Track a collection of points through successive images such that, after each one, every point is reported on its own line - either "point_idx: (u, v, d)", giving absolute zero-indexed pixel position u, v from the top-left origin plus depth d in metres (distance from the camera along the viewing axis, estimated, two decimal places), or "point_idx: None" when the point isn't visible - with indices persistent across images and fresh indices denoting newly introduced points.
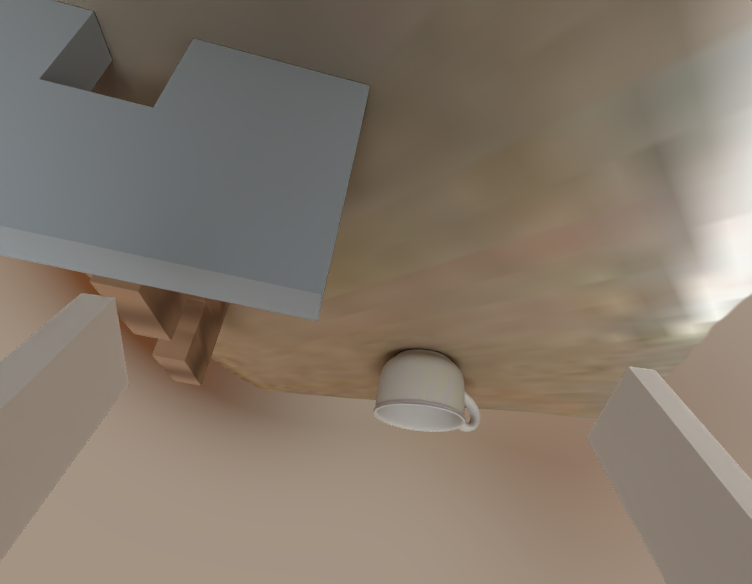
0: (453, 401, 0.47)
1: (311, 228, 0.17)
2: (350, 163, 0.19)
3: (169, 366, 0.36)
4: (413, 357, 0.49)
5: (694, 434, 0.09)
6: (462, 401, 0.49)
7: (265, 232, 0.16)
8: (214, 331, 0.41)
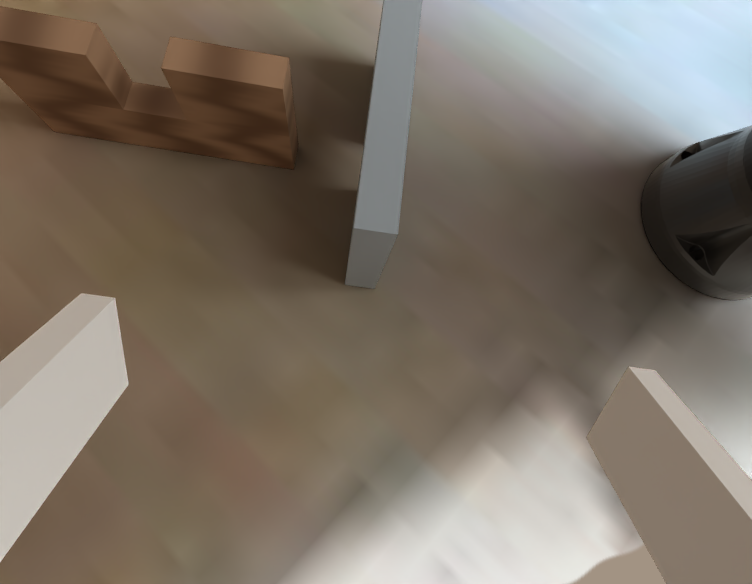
0: None
1: None
2: None
3: (50, 25, 0.27)
4: None
5: (694, 434, 0.09)
6: None
7: None
8: (39, 93, 0.31)
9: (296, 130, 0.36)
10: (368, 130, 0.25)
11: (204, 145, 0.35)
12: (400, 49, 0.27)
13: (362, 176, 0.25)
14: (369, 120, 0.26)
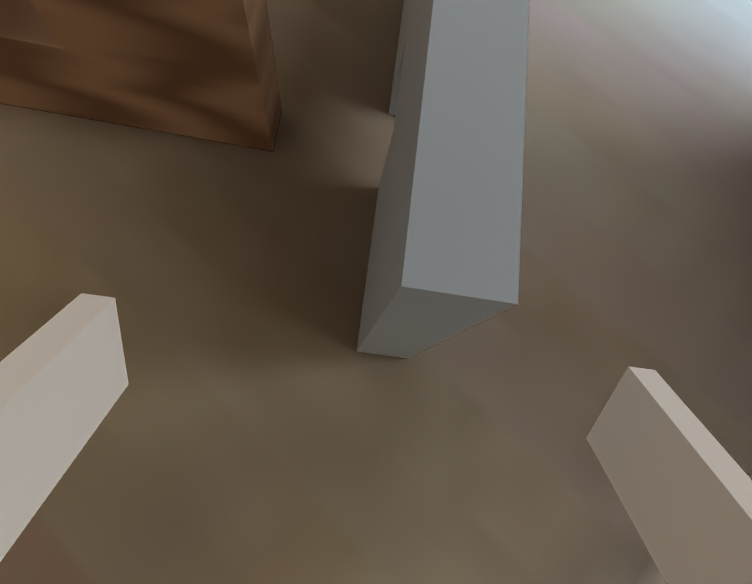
0: None
1: None
2: (437, 341, 0.15)
3: None
4: None
5: (694, 434, 0.09)
6: None
7: None
8: None
9: (276, 82, 0.21)
10: (433, 38, 0.10)
11: (114, 104, 0.20)
12: None
13: (421, 149, 0.10)
14: (434, 16, 0.11)
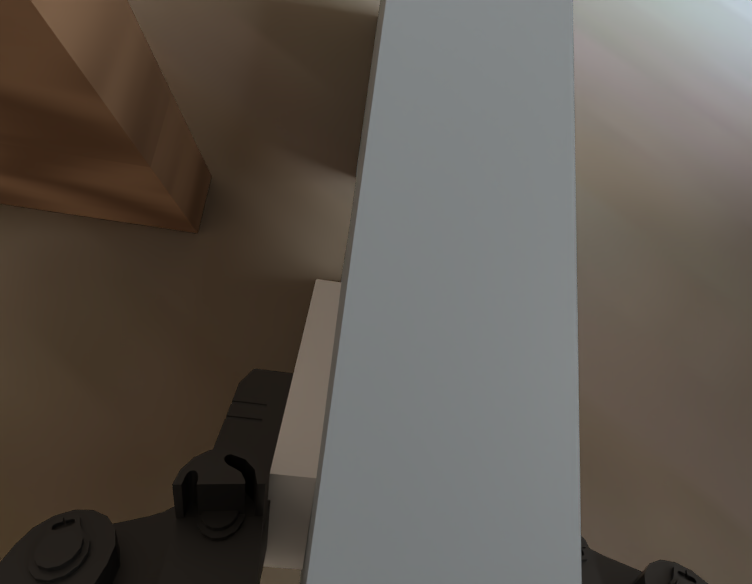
0: None
1: None
2: None
3: None
4: None
5: None
6: None
7: None
8: None
9: (195, 146, 0.15)
10: (370, 180, 0.05)
11: None
12: None
13: (332, 482, 0.04)
14: (375, 126, 0.05)
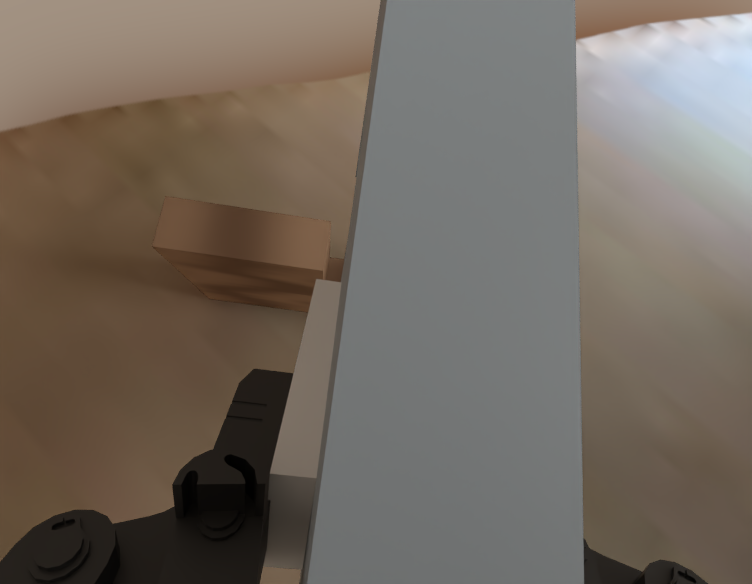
0: None
1: None
2: None
3: (273, 227, 0.20)
4: None
5: None
6: None
7: None
8: (221, 282, 0.24)
9: None
10: (371, 180, 0.05)
11: None
12: None
13: (332, 486, 0.04)
14: (376, 126, 0.05)
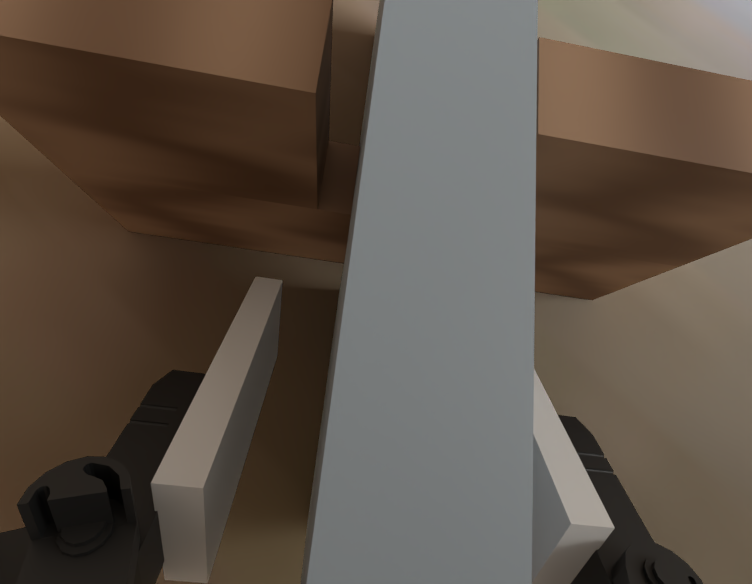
0: None
1: None
2: None
3: None
4: None
5: None
6: None
7: None
8: (122, 173, 0.13)
9: None
10: (361, 227, 0.06)
11: None
12: None
13: (330, 479, 0.05)
14: (366, 180, 0.06)
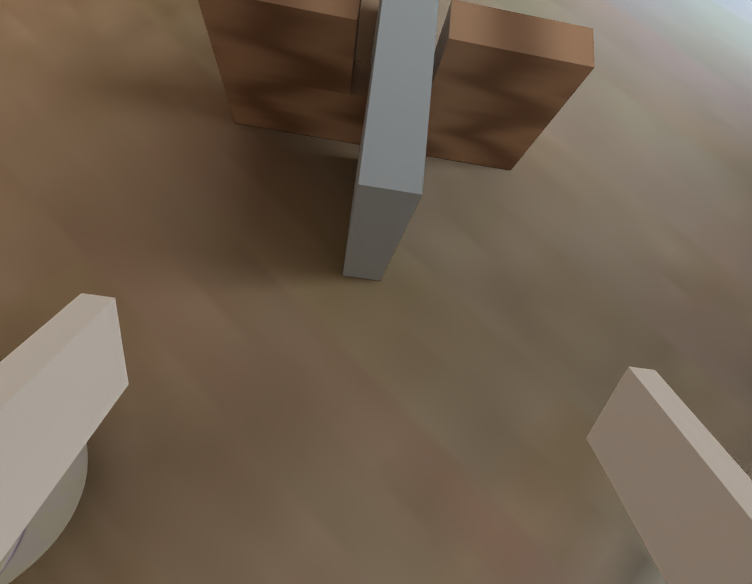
0: (2, 578, 0.17)
1: None
2: (394, 251, 0.23)
3: None
4: None
5: (694, 434, 0.09)
6: None
7: None
8: (252, 72, 0.25)
9: None
10: (378, 50, 0.18)
11: None
12: None
13: (370, 112, 0.17)
14: (379, 37, 0.18)
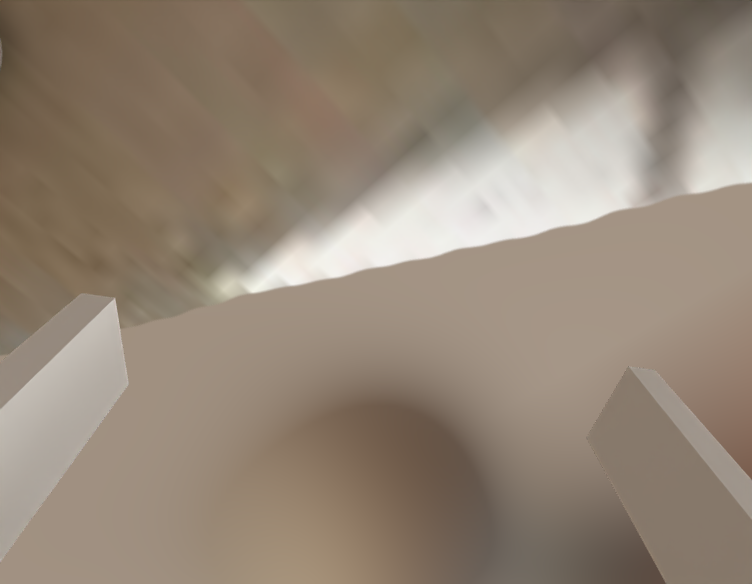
0: None
1: None
2: None
3: None
4: None
5: (694, 434, 0.09)
6: None
7: None
8: None
9: None
10: None
11: None
12: None
13: None
14: None
